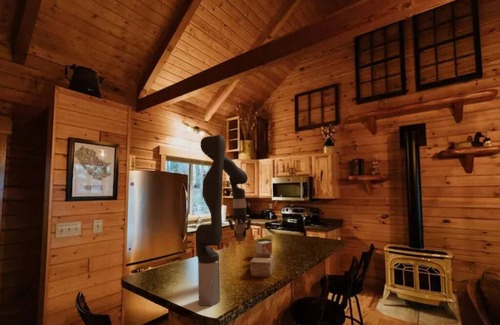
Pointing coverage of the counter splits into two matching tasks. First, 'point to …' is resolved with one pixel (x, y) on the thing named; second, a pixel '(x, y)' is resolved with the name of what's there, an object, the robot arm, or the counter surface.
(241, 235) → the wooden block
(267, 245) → the small box
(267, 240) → the plant pot
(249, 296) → the counter surface
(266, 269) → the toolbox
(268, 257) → the lid
